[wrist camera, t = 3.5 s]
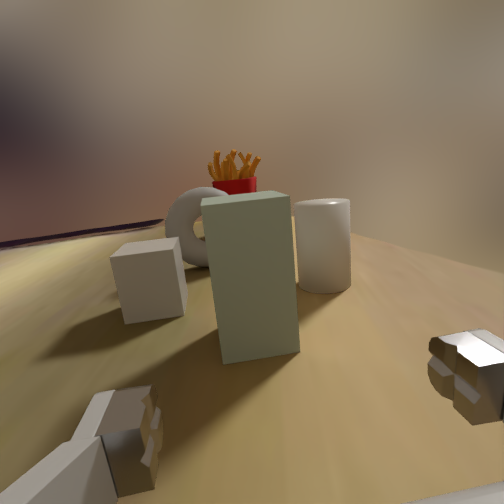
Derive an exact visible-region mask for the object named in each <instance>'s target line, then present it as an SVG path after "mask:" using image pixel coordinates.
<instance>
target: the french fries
mask: <svg viewBox="0 0 504 504" xmlns="http://www.w3.org/2000/svg"><path fill="white" fill-rule="evenodd" d="M236 152H237V151H236V150H235V149H233V150H232V151H231V153H230V154H228V155H227V157H226V158H225V159H224V160H223V162H221V168H220V165H219V156H220V152H219V151H218V150H217V151H215V152H214V169H215V172H214V170H213V166H212V163H211V162H210V163H209V164H208V170H209V174H210V175H211V177H212V178H213V179H214V180H215V181H213V182H212V184H213V188H216V189H218V190H221V191H224V192H226V193H227V194H228V195H236V194H245V193H254V192H256V177H254V172H255V169H256V167H257V165H258V163H259V162H260V160H261V158H260V157H258V156H256V157H255V159H254V161H253V163H252V164H251V162H249V161H250V158H251V155H252V153H250V152H249V153H248V154H247V156H246V159H244V157H243V155H242V154H241V152H240V153H239V154H238V155H239V157H240V158H241V160H242V161H243V163H244V165H243V167H242V168H241V170H236V165H235V163H234V158H235V155H236ZM215 173H216V174H215Z"/></svg>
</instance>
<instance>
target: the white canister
mask: <svg viewBox="0 0 504 504" xmlns="http://www.w3.org/2000/svg"><path fill="white" fill-rule="evenodd" d="M294 216H295V232H296V248H297V264H298V280H299V287H300V288H301V289H303V290H305V291H307V292H311V293H318V294H331V293H338V292H341V291H344V290H346V289H348V288H349V287H350V286H351V251H350V200H348V199H340V198H338V199H336V198H334V199H332V198H331V199H315V200H308V201H301V202H297V203H295V204H294Z"/></svg>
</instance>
